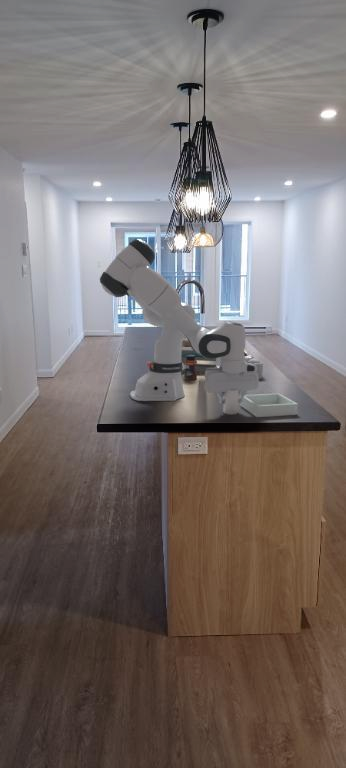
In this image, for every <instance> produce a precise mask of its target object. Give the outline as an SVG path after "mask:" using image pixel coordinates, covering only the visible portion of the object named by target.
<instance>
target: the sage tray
mask: <svg viewBox="0 0 346 768" xmlns="http://www.w3.org/2000/svg"><path fill="white" fill-rule="evenodd" d="M239 406H240V407H241V408H243V409H245V410H246V411H247V412H248V413H250V414H252V416H254V417H256V418H262V417H263V418H265V417H279V416H280V417H282V416H295V415H296V416H297V415H298V408H299V404H298V403H297V402H295V401H294V400H292V399H290V398H288V397H286V396H285V395H283V394H281V393H279V392H278V393H277V392H276V393H258V394H256V393H255V394H245V396H244V397H243V402H242V403H240V405H239Z"/></svg>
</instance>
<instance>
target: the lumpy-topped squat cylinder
mask: <svg viewBox="0 0 346 768" xmlns="http://www.w3.org/2000/svg"><path fill="white" fill-rule="evenodd" d="M245 362H249V363H251V364H254V365H255V366H257V371H256V372H257V374H258V378H259V380H260V379H262V378H263V371H264V370H263V369H264V366H263V365H264V363H263V362H262V360H260V359H258V358H251V357H245Z"/></svg>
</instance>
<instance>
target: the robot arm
mask: <svg viewBox="0 0 346 768" xmlns="http://www.w3.org/2000/svg"><path fill="white" fill-rule="evenodd" d="M155 254H156V253H155V251H154V249H153V248H152V246H151V245H150V244H149V243H148V242H146V241H145V240H143V239H140V238H135V239H132V240H131V241H130V242H129V243H128V245H127V246H125V247H124V248H123V249H122V250H121V251H120V252H119V253H117V255H116V256H115V258H114V259H113V260H112V261H111V262H110V263H109V265H108V267H107V268H106V269H105V271H103V273H101V275H100V278H99V283H100V284H101V287H102V288H103V290H104V292H106V293H107V294H108V295H110V296H111V297H116V298H122V297H124V296H127V297H129V296H130V297H131V298H132V299H133V300H134V301H135V302H136V303H137V304H138V305H139V307H140V308H141V310H142V319H143V320H144V321H145V322H146V323H147V324H149V325H151V326H154V327H159V328H162V331H161V335H160V337H159V338H157V339H156V340H155V341H154V350H153V351H154V354H153V355H154V361H152V362H151V361H147V362H146V366H147V367H149V370H148V372H146V373H145V374H144V375H142V376H141V377H140V378H138V379H137V381H136V383H135V384H136V385H135V389H134V390H132V391H130V394H129V396H130V398H131V399H132V400H135V401H138V402H155V401H156V402H168V401H169V402H171V401H174V402H175V401H177V400H179V399H181V398H184V397H185V395H186V394H185V392H184V391H185V390H184V387H183V386H184V385H183V378H182V375H183V372H184V371H183V370H184V368H183V367H184V366H183V365H184V364H183V363H182V362H181V356H182V354H183V353H182V347H183V343H184V342H183V341H184V338H185V337H186V338H187V342H188V344H189V346H190V348H192V349H193V350H194V351H195V352H196V353H198V354H200V355H202V356H203V357H205V358H208V359H213V358H218V357H220V367H209V368H208V369H209V370H208V369H206V371H205V372H204V387H203V388H204V390H205V392H207V393H208V394H212V393H213V394H214V393H216V395H217V397H218V399H219V404H221V405H223V404H224V403H225V402H224V401H225V399H224V397H222V395H223V393H224V392H227V391H228V390H239V393H240V394H239V403H242V402H243V397H244V396H245V395H247V393H246V392H247V391H248V392H249V391H257V390H258V389H259V387H260V386H259V385H260V381H259V380H260V379H259V378H258V374H257V372H256V371H257V366H255V365H254V364H251V363H249V362H245V359H246V356H245V349H246V340H247V339H246V328H245V326H244V325H243V324H241V323H239V322H234V321H230V320H225V321H223V323H221V324H220V325H218V326H217V327H214V328H213V329H210V328H208V327H205V326H203V325H200V324H199V323H198V322H196V321H195V320H196V311H195V309H194V307H193V306H192V305H190V304H188V303H186V302H184V301H182V297H181V295H180V294H179V293H178V291H177V290H176V289H175V287H174V286H173V285H172V284H171V283H170V282H169V281H168V280H167V279H166V278H165V277H163V276H162V275H161V274H160V273H158V272H157V271H156V270H155V269H153V268H152V267H150V266H152V264H153V263H154V261H155V258H156V255H155Z"/></svg>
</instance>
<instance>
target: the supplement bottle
mask: <svg viewBox="0 0 346 768" xmlns="http://www.w3.org/2000/svg"><path fill="white" fill-rule="evenodd" d="M186 358H187V359H186V360H185V361H184V364H183V365H184V366H183V367H184V368H183V370H184V371H183V372H184V373H183V376H184V377H183V378H184V379H185V380H187V381H194V380H196V379H198V377H197V376H198V372H197V364H198V360H195V355H187V356H186Z"/></svg>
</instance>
